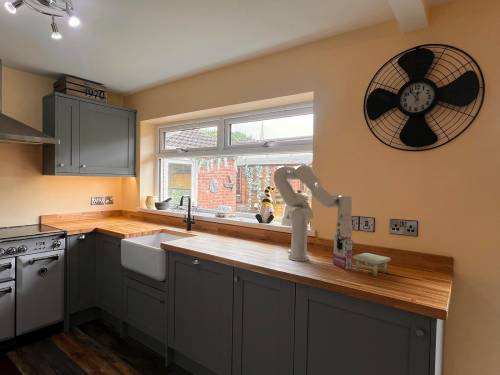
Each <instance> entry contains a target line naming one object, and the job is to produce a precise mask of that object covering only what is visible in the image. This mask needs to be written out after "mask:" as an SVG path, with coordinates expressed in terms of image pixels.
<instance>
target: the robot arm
mask: <svg viewBox="0 0 500 375" xmlns="http://www.w3.org/2000/svg"><path fill="white" fill-rule="evenodd" d="M291 180H293V181H295V180H299V181H300V182H301V183H303V184H304V186H305V187H307V189H308V190H309V191H310V193H311V194H312V196H313V197H314V198H315V199H316V201H318V202H319V203H320V204H321V205H322V206H323V207H325V208H337V216H336V219H337V220H336V227H335V234H334V237H335V238H336V240H337V249H340V250H342V239H343V238H347V239H352V236H353V221H352V206H353V197H352V196H351V195H345V194H343V195H339V194H332V193H331V194H330V193H329V192H328V191H327V190H326V189H325V188H324V187H323V185H322V184H321V179H320V178H319V177H318V176H316V175H315V173H314V170H313V169H312V168H311V167H310V166H309V165H305V164H304V165H303V164H301V165H297V166H288V165H281V166H278V167H277V168H276V169H275V171H274V173H273V181H274V182H273V183H274V184H275V186H276V187H275V188H277V190H278V192H279V194H280V196H281V197H282V199H283V202H284V203H285V205H286V206H287V207H288V208H291V209H293V211H292V212H291V215H290V220H291V239H290V240H291V243H290V244H291V245H290V247H291V248H290V249H288V250H287V251H286V253H287V254H289V255H288V256H287V257H288V259H289V260H292V261H296V262H308V261H309V259H310V258H309V256H308V255H307V254H308V253H307V251H308V249H307V247H308V246H307V245H308V225H307V223H308V222H311V221H312V220H313V217H314V214H313V209H312V208H311V205H310V204H309V203H308V201H307V199H306V198H305V196H304V195H303V194H301V193H299V192H295V190H294V189H293V187H292V185H291V183H290V182H289V181H291ZM340 238H341V239H340Z"/></svg>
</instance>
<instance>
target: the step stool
mask: <svg viewBox="0 0 500 375" xmlns="http://www.w3.org/2000/svg"><path fill="white" fill-rule="evenodd" d="M354 259H355V271H356V272H360V268H361V267H362V268H365V267H366V268H365V269H370V270H372V276H375V277H377V276H378V267H382V273H383V272H384V273H385V274H386V272H388V271H387V270H388V262H390V261H391V257H388V256H383V255H379V254H374V253H369V252H363V253H360V254H359V253H358V254H354V255H352V260H354ZM361 261H363V262H365V264H364V263H361Z"/></svg>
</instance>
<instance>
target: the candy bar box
mask: <svg viewBox="0 0 500 375" xmlns="http://www.w3.org/2000/svg"><path fill="white" fill-rule="evenodd" d="M340 239H341V238H340ZM353 248H354V240H353V239H352V238H350V239H347V238H343V239H342V250H340V249H337V240H336V238H335V236H334V237H333V259H332V265H333V264H334V266H335V265H336V266H335V267H338V268H340V269H343V270H344V271H345V270H352V269H353Z"/></svg>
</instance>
